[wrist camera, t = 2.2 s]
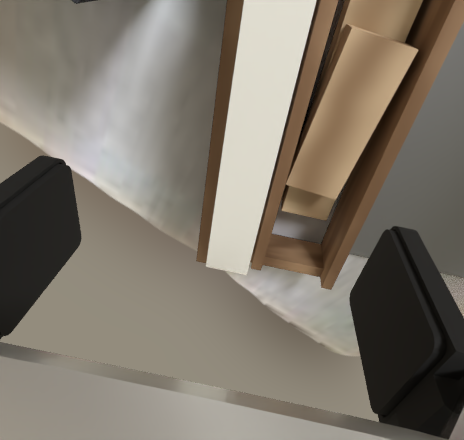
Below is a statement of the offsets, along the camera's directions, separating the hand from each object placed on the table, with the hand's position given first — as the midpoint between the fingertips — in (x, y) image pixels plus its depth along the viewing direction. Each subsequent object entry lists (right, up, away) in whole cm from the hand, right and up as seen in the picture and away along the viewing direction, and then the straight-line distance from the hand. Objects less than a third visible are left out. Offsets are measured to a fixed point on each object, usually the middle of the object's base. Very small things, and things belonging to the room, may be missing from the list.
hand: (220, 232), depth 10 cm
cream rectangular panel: (+3, +13, +18) cm, 22 cm away
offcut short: (+9, +9, +16) cm, 21 cm away
